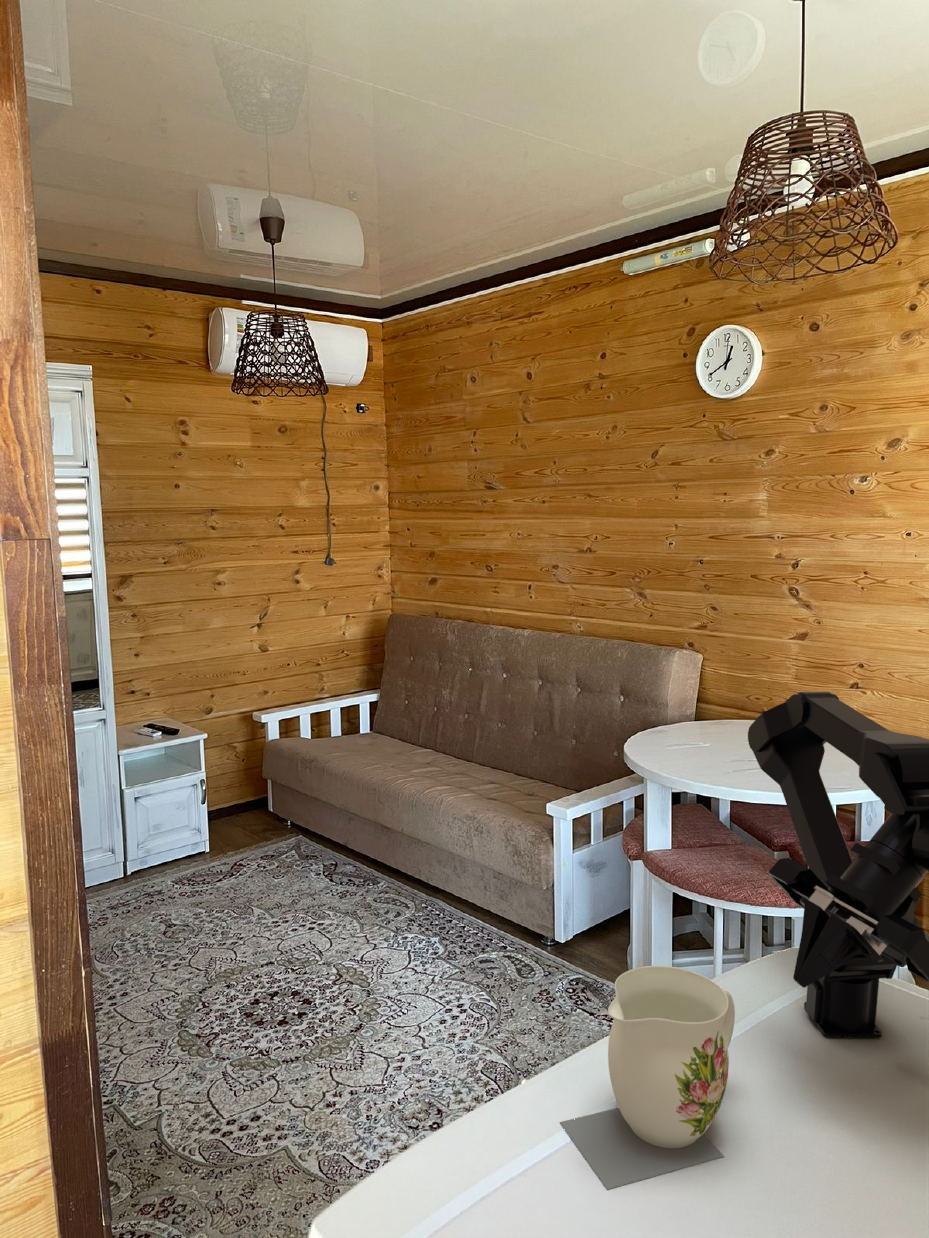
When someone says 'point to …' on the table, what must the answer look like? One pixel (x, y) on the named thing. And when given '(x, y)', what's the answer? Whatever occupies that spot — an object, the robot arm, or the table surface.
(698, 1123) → the pitcher
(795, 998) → the table surface
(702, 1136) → the slate pad
